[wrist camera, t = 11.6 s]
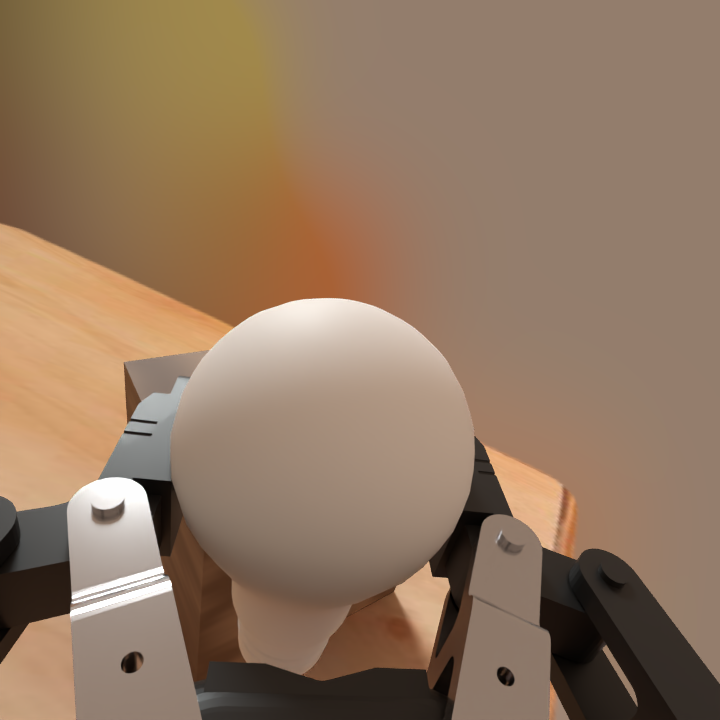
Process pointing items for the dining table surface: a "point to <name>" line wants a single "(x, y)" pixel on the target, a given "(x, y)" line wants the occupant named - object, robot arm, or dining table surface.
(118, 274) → the dining table surface
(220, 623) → the lamp housing
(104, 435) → the dining table surface
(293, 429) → the lightbulb
